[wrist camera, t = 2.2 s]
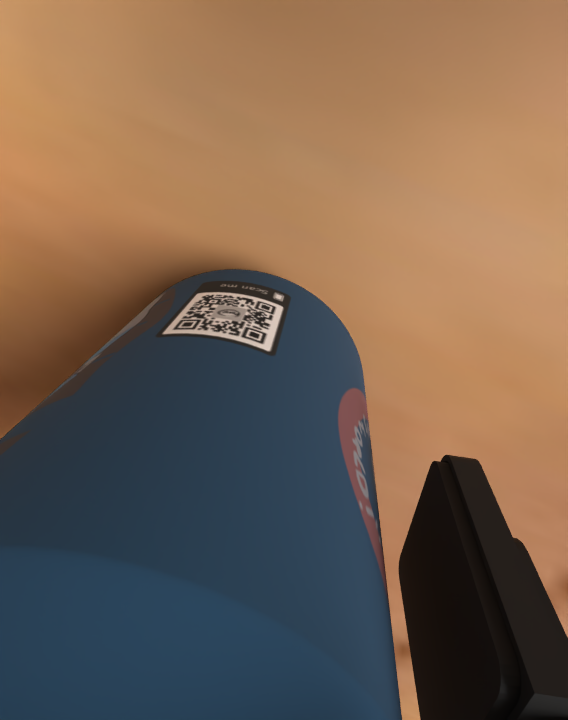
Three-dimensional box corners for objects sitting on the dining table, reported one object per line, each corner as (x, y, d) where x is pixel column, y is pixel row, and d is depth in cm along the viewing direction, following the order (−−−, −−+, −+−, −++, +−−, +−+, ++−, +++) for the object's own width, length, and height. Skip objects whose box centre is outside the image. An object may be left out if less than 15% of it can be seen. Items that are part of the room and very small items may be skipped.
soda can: (337, 469, 16) (341, 1157, 5) (143, 435, 16) (-238, 1029, 5) (384, 278, 13) (643, 1016, 2) (144, 238, 13) (-766, 723, 2)
